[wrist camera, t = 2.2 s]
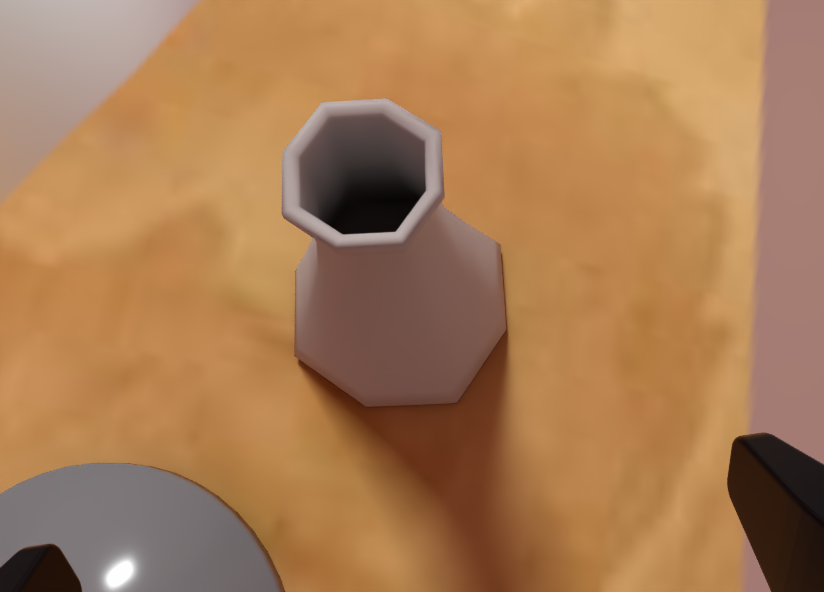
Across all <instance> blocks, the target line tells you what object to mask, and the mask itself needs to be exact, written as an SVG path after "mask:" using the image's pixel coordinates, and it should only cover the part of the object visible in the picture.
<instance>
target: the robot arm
mask: <svg viewBox="0 0 824 592" xmlns="http://www.w3.org/2000/svg"><path fill="white" fill-rule="evenodd" d="M727 486H728V492H729V495H730V498H731V501H732V503H733V506H734V508H735V510H736V512H737V515H738V517H739V519H740V522H741V524H742V526H743V528H744V531H745V533H746V535H747V538H748V540H749V542H750V544H751V547H752V549H753V551H754V553H755V556H756V558H757V560H758V562H759V565H760V567H761V569H762V572H763V574H764V576H765V578H766V581H767V583H768V585H769V588H770V590H771V592H824V464H822V463H820V462H819V461H817V460H815V459H813V458H812V457H810V456H808V455H806V454H805V453H803V452H801V451H799V450H798V449H796V448H794V447H793V446H791V445H789V444H787V443H786V442H784V441H782V440H781V439H779V438H777V437H775V436H774V435H772V434H769V433H756V434H750V435H743V436H739V437H736V438H735V440H734V441H733V444H732V449H731V456H730V464H729V471H728V478H727ZM0 592H82V586H81V583H80V580H79V578H78V577H77V575H76V573H75V572H74V570H73V568H72V567H71V565H70V564H69V562H68V560H67V559H66V557H65V555H64V554H63V552H62V551H61V549H60V548H59V547H58V546H56V545H55V544H50V543H49V544H43V545H36V546H30V547H25V548H23V549H21V550H19V551H18V552H17V553H15V554H14V555H13V556H12V557H11V558H10V559H9V560H8V561H7V562H6V563H4V564H3V565H2V566H1V567H0Z"/></svg>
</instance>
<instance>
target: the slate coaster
mask: <svg viewBox="0 0 824 592" xmlns="http://www.w3.org/2000/svg"><path fill="white" fill-rule="evenodd" d="M49 543H50V544H55V545H56V546H58V547H59V548H60V549H61V551H62V552H63V554H64V555H65V557H66V559H67V560H68V562H69V564H70V565H71V567H72V568H73V570H74V572H75V573H76V575H77V577H78V578H79V580H80V583H81V586H82V592H285V591H284V588H283V585H282V582H281V579H280V576H279V574H278V572H277V570H276V568H275V566H274V564H273V562H272V560H271V558H270V556H269V554H268V552H267V550H266V549H265V547H264V546H263V544H262V543H261V541H260V540H259V538H258V537H257V535H256V534H255V532H254V531H253V530H252V529H251V528H250V526H249V525H248V524H247V523H246V522H245V521H244V520H243V518H242V517H241V516H240V515H239V514H238V513H237V512H236V511H235V510H234V509H233V508H232V507H230V506H229V505H228V504H227V503H226V502H224V501H223V500H222V499H221V498H220V497H219V496H217V495H216V494H214V493H213V492H211V491H209V490H208V489H206V488H205V487H203V486H202V485H200V484H198V483H197V482H194V481H192V480H190V479H188V478H185V477H183V476H181V475H179V474H176V473H173V472H170V471H166V470H163V469H159V468H156V467H152V466H145V465H137V464H130V463H90V464H83V465H76V466H69V467H64V468H61V469H57V470H54V471H50V472H46V473H43V474H40V475H38V476H35V477H33V478H31V479H28V480H26V481H23V482H21V483H19V484H17V485H15V486H13V487H11V488H10V489H8V490H6V491H4V492H3V493H1V494H0V567H1V566H2V565H3V564H4V563H6V562H7V561H8V560H9V559H10V558H11V557H12V556H13V555H14V554H15V553H17V552H18V551H19V550H21V549H23V548H25V547H30V546H36V545H43V544H49Z"/></svg>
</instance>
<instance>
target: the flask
mask: <svg viewBox="0 0 824 592" xmlns="http://www.w3.org/2000/svg"><path fill="white" fill-rule="evenodd" d="M443 199H444V178H443V159H442V139H441V131H440V130H438V129H437V128H435V127H433V126H432V125H430V124H428V123H427V122H425V121H423V120H422V119H420V118H418V117H417V116H415V115H413V114H412V113H410V112H408V111H407V110H405V109H403V108H402V107H400V106H398V105H397V104H395V103H393V102H392V101H390V100H388V99H370V100H353V101H337V102H322V103H321V104H320V106H319V107H318V108H317V109H316V111H315V112H314V113H313V114H312V116H311V117H310V118H309V119H308V121H307V122H306V123H305V124H304V126H303V127H302V128H301V129H300V131H299V132H298V133H297V134H296V136H295V137H294V138H293V140H292V141H291V142H290V143H289V145H288V146H287V147H286V148H285V150H284V151H283V164H282V215H283V217H284V219H286V220H287V221H289V222H290V223H292V224H293V225H295V226H296V227H298V228H299V229H301V230H302V231H304V232H305V233H307V234H308V235H310V236H311V237H313V238H312V240H311V242H310V245H309V247H308V249H307V251H306V253H305V254H304V256H303V258H302V259H301V261H300V263H299V264H298V266H297V269H296V271H295V354H294V356H295V357H296V358H298V359H299V360H301V361H302V362H303V363H305V364H306V365H308V366H309V367H310V368H312V369H313V370H315V371H316V372H318V373H319V374H320V375H322V376H323V377H325V378H326V379H327V380H329V381H330V382H332V383H333V384H334V385H336V386H337V387H339V388H340V389H341V390H343V391H344V392H346V393H347V394H349V395H350V396H351V397H353V398H354V399H356V400H357V401H358V402H360V403H361V404H363V405H364V406H365V407H374V406H399V405H423V404H448V403H457V402H458V400H459V399H460V398H461V396H462V395H463V393H464V392H465V390H466V389H467V387H468V386H469V384H470V383H471V381H472V380H473V378H474V377H475V375H476V374H477V372H478V371H479V369H480V368H481V366H482V365H483V363H484V362H485V360H486V359H487V357H488V356H489V354H490V353H491V351H492V350H493V348H494V347H495V346H496V344H497V343H498V341H499V340H500V338H501V337H502V335H503V334H504V332H505V331H506V316H505V302H504V288H503V274H502V260H501V247H500V244H498V243H497V242H496V241H494V240H493V239H491V238H490V237H488V236H486V235H485V234H483V233H482V232H480V231H478V230H477V229H475V228H474V227H472V226H470V225H469V224H467V223H466V222H464V221H462V220H461V219H460V218H458V217H457V216H456V215H454V214H453V213H451V212H450V211H449V210H447V209H446V208H445V207H444V206H443V205H442V203H441V202H442V200H443Z"/></svg>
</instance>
